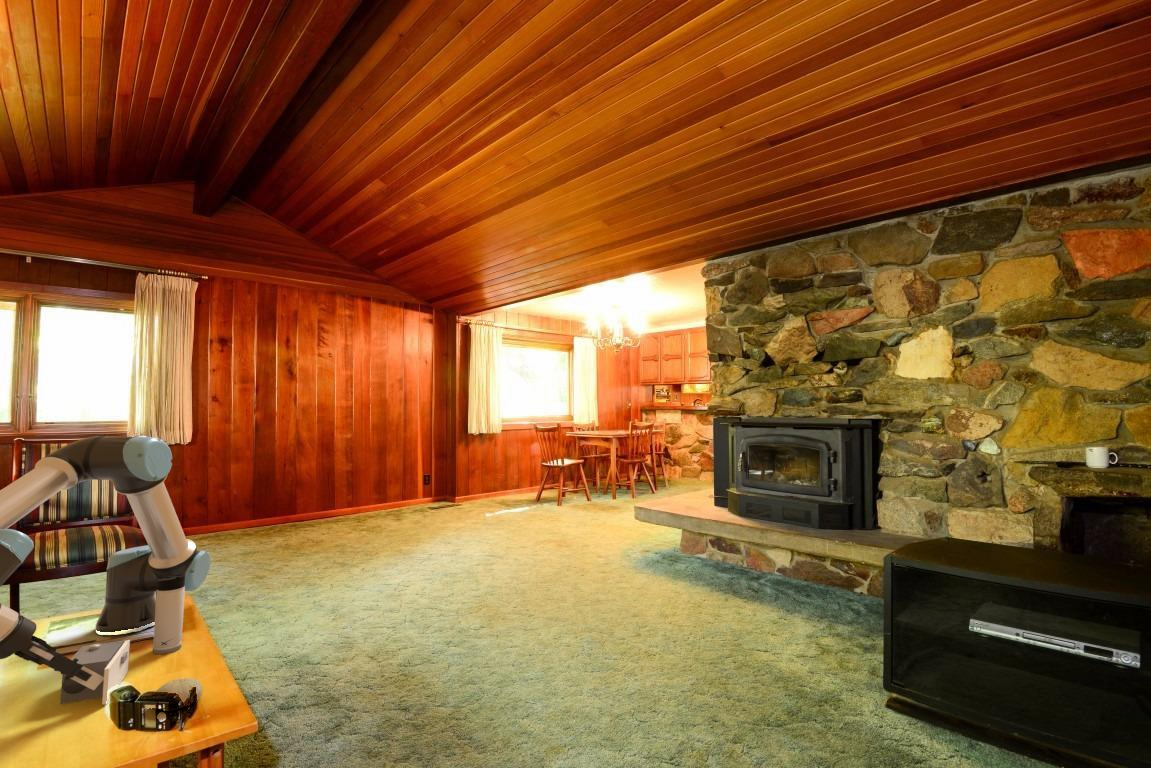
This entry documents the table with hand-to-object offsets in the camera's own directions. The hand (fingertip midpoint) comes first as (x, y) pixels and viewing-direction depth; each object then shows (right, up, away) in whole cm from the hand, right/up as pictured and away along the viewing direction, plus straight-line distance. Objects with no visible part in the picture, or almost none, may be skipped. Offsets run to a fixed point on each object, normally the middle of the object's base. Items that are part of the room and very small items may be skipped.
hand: (97, 683), depth 121 cm
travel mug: (-5, -6, +28) cm, 29 cm away
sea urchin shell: (+17, -5, +1) cm, 18 cm away
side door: (-1, -4, +7) cm, 8 cm away
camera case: (-7, -5, +7) cm, 11 cm away
